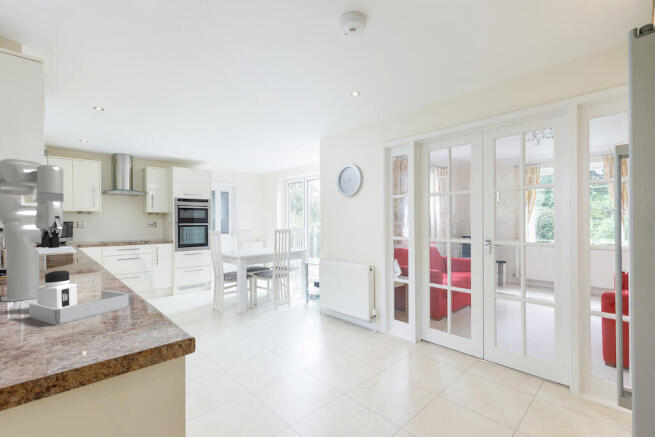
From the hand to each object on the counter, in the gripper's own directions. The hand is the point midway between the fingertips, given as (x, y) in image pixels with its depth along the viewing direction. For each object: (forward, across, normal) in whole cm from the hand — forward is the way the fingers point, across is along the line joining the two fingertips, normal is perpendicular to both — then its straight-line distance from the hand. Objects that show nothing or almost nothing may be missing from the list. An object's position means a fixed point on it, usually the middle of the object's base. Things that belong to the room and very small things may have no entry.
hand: (50, 247), depth 115 cm
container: (+21, +10, -2) cm, 23 cm away
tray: (+21, +22, 0) cm, 31 cm away
